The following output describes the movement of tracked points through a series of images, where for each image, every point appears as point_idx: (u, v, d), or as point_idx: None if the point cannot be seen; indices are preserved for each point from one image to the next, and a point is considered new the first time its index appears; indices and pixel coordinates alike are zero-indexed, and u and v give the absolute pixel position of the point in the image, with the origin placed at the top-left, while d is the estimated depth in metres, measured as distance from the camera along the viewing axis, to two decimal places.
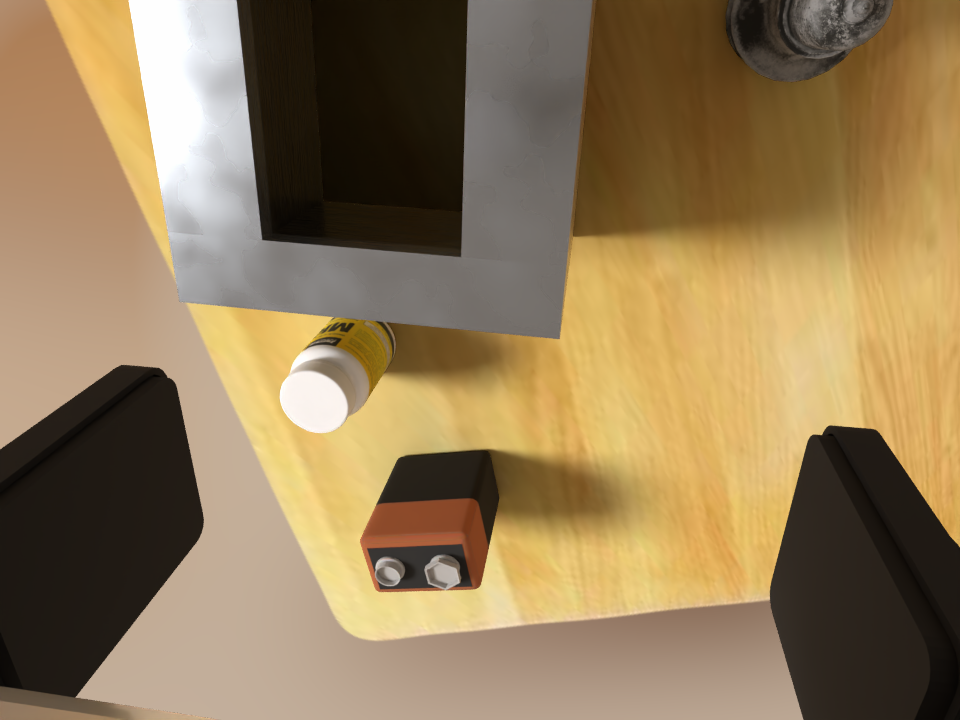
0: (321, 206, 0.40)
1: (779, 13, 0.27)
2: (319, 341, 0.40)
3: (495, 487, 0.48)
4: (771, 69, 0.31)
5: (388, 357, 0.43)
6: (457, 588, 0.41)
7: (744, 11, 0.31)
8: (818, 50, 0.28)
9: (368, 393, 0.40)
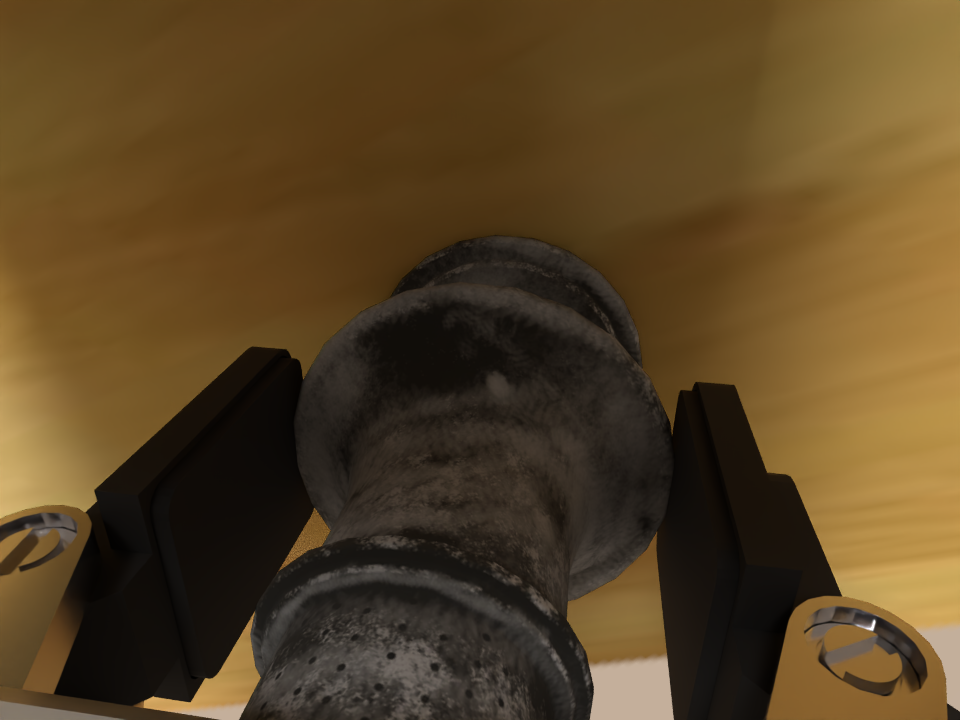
0: None
1: (391, 542, 0.07)
2: None
3: None
4: (316, 414, 0.10)
5: None
6: None
7: (466, 325, 0.09)
8: None
9: None
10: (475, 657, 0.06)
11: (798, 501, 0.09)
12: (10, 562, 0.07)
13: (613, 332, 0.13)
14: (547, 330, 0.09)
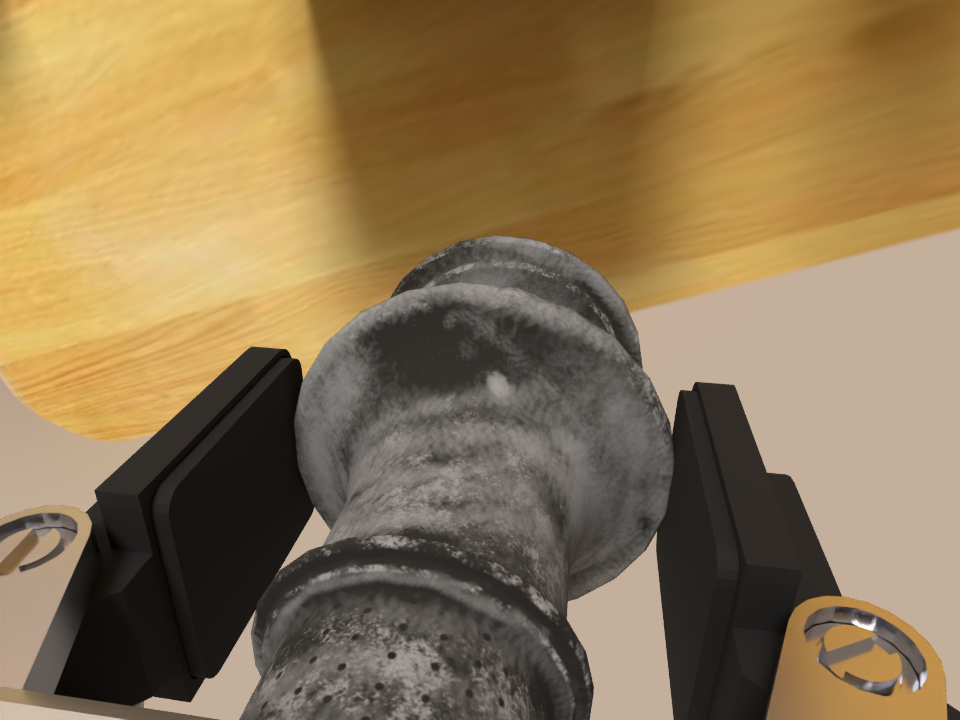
0: None
1: (391, 541, 0.07)
2: None
3: None
4: (317, 414, 0.10)
5: None
6: None
7: (466, 326, 0.09)
8: None
9: None
10: (475, 657, 0.06)
11: (798, 501, 0.09)
12: (10, 562, 0.07)
13: (613, 332, 0.13)
14: (547, 331, 0.09)
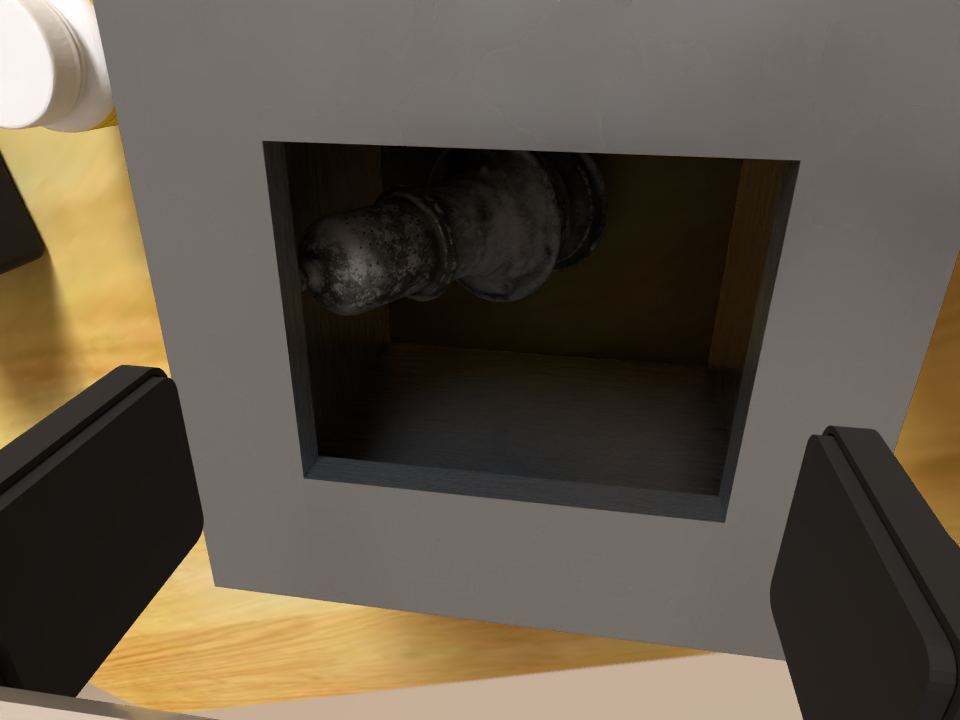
0: None
1: (404, 188, 0.21)
2: None
3: None
4: None
5: None
6: None
7: None
8: None
9: None
10: (409, 212, 0.20)
11: None
12: None
13: (587, 181, 0.24)
14: (508, 151, 0.22)
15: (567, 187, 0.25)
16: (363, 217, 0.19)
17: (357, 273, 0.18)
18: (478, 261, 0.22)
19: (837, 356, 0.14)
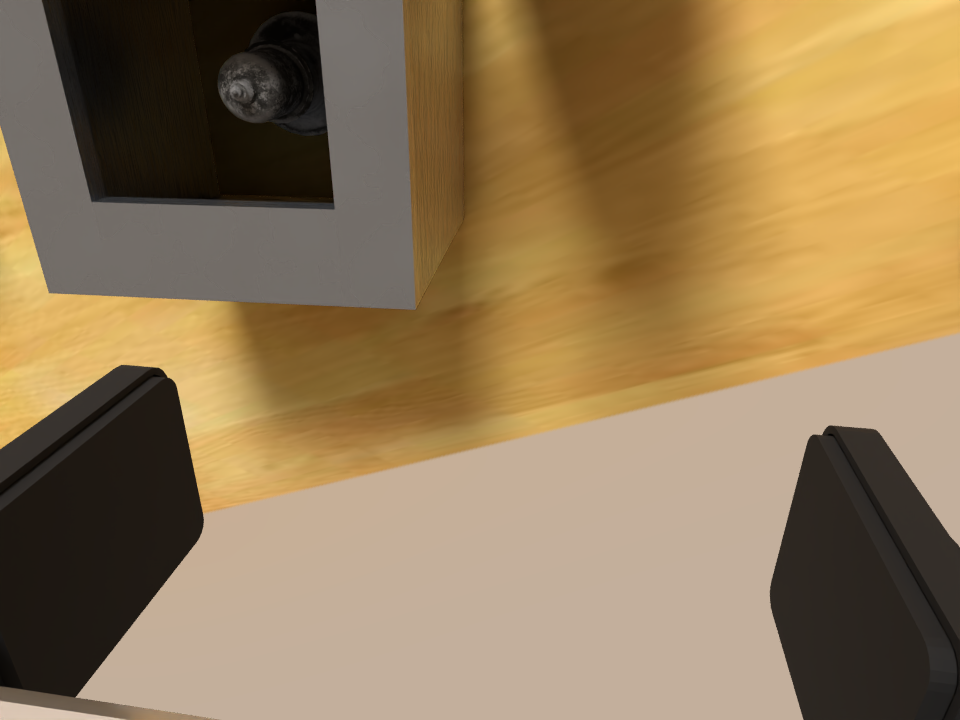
0: None
1: (262, 43, 0.31)
2: None
3: None
4: None
5: None
6: None
7: (287, 23, 0.34)
8: None
9: None
10: (279, 53, 0.30)
11: None
12: None
13: None
14: (309, 21, 0.34)
15: None
16: (259, 52, 0.29)
17: (275, 83, 0.28)
18: (316, 92, 0.33)
19: (363, 90, 0.24)
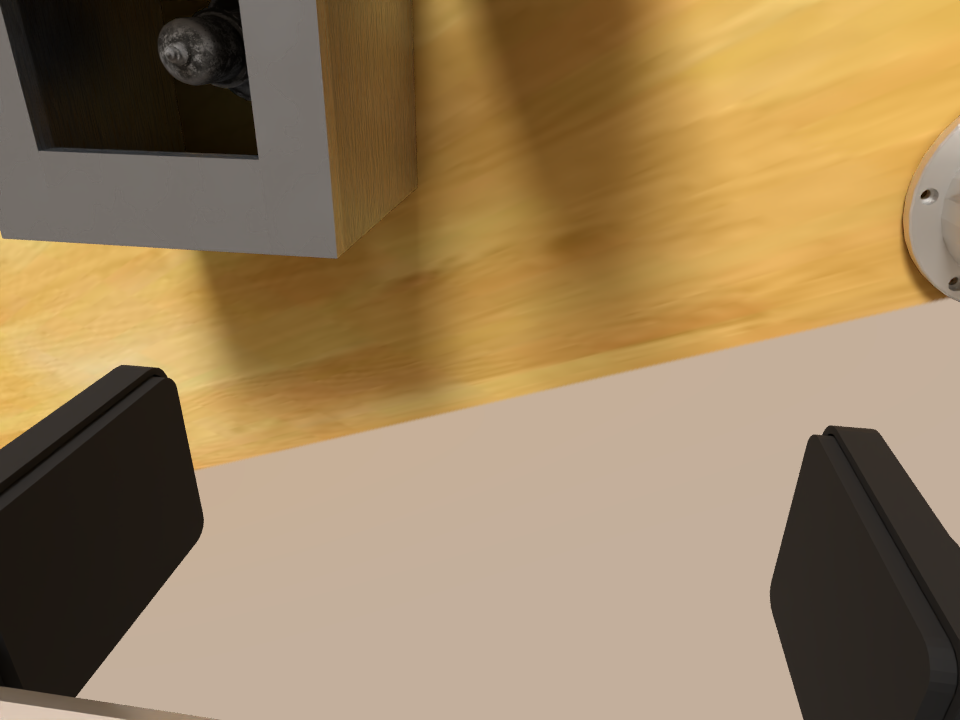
0: None
1: (206, 11, 0.33)
2: None
3: None
4: None
5: None
6: None
7: None
8: None
9: None
10: (219, 19, 0.32)
11: None
12: None
13: None
14: None
15: None
16: (197, 18, 0.31)
17: (208, 46, 0.30)
18: None
19: (279, 44, 0.26)
